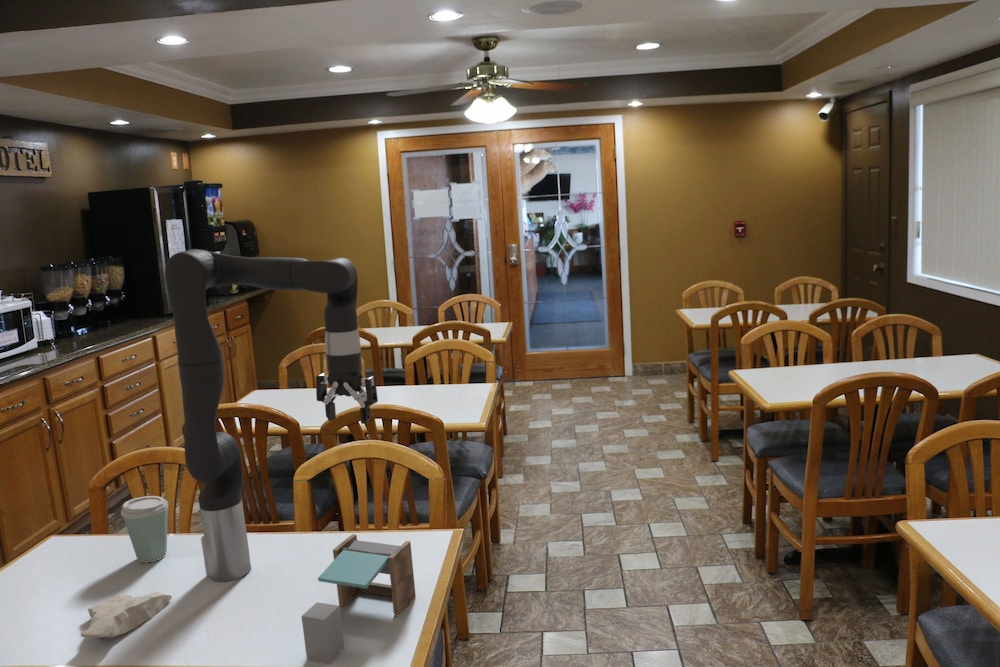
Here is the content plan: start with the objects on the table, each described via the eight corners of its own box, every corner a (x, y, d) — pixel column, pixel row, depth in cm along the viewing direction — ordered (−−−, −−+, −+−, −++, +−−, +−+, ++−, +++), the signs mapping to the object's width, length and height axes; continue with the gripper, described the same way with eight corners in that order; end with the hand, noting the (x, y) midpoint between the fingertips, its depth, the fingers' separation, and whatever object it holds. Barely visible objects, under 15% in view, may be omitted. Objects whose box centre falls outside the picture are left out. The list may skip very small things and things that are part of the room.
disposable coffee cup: (160, 544, 203) (151, 489, 200) (185, 553, 196) (176, 496, 193) (120, 561, 194) (111, 504, 191) (145, 572, 188) (135, 513, 185)
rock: (49, 649, 159) (106, 652, 154) (44, 627, 158) (102, 629, 153) (130, 602, 179) (183, 602, 174) (126, 582, 178) (179, 582, 173)
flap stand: (358, 588, 173) (352, 534, 171) (415, 597, 168) (410, 541, 165) (339, 606, 167) (332, 549, 164) (398, 616, 161) (392, 557, 159)
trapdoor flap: (359, 560, 171) (354, 537, 169) (404, 566, 166) (399, 543, 165) (323, 602, 159) (317, 577, 157) (371, 610, 154) (365, 585, 152)
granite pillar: (316, 602, 151) (322, 644, 153) (301, 616, 147) (307, 659, 148) (339, 605, 149) (344, 648, 151) (324, 619, 145) (329, 664, 146)
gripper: (305, 352, 172) (311, 423, 175) (362, 355, 167) (367, 429, 170) (325, 345, 179) (330, 414, 182) (380, 348, 174) (385, 419, 177)
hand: (348, 421), depth 176 cm, fingers open, 8 cm apart
